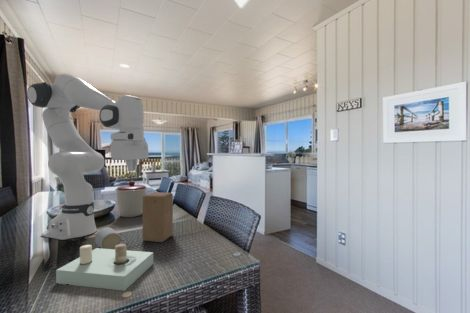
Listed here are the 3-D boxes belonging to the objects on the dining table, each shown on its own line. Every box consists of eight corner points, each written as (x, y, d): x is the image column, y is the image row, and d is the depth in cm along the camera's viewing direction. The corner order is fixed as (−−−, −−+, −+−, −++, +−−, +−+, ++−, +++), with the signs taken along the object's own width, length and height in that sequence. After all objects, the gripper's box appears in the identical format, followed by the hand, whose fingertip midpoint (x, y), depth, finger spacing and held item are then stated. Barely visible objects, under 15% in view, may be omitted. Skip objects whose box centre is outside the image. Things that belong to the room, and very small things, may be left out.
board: (56, 283, 69) (56, 253, 69) (96, 259, 85) (96, 234, 85) (124, 290, 66) (124, 258, 66) (153, 263, 82) (153, 238, 81)
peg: (113, 276, 73) (112, 247, 73) (119, 271, 77) (119, 243, 76) (123, 276, 73) (122, 248, 73) (129, 271, 76) (128, 243, 76)
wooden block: (162, 243, 100) (162, 196, 100) (141, 241, 102) (141, 195, 102) (173, 235, 110) (173, 192, 109) (153, 233, 112) (153, 191, 111)
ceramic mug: (102, 254, 89) (102, 234, 89) (94, 248, 94) (94, 229, 94) (130, 246, 97) (130, 227, 97) (121, 241, 102) (121, 223, 102)
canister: (121, 211, 152) (121, 179, 151) (150, 211, 154) (150, 178, 153) (110, 219, 134) (109, 182, 133) (143, 219, 136) (142, 182, 135)
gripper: (139, 138, 105) (139, 169, 105) (107, 134, 84) (107, 173, 85) (152, 137, 104) (152, 169, 104) (123, 134, 83) (123, 173, 84)
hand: (131, 171), depth 94 cm, fingers closed
